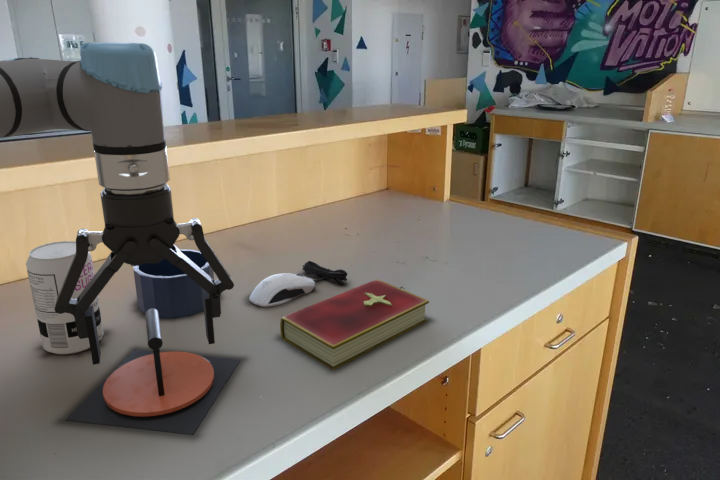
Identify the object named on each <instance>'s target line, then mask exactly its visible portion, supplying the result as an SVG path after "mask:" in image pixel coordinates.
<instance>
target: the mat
mask: <svg viewBox="0 0 720 480" xmlns="http://www.w3.org/2000/svg"><path fill="white" fill-rule="evenodd" d="M150 354H153V350H144V349H133V351H132V352H131V353H130V354H129V355H127V356H126V357H125V359H124V360H123V361H122V362H121V363H120V364H118V366H117V367H116V368H115V369H114V370H113V371H112V372H111V373H110V374H109V375H108V376H107V377H105V379H104V380H103V381H102V382H101V383H100V384H99V385H98V386H97V387H96V388H95V389H94V390H93V391H92V392H91V393H90V394H89V395H88V396H87V397H86V398H85V399H84V401H82V402H81V403H80V404H79V405H78V406H77V407H76V408H75V409H74V410H73V412H71V414H69V416H67V417H66V418H65V422H74V423H84V424H92V425H100V426H101V425H102V426H109V427H117V428H126V429H133V430H135V429H136V430H143V431H153V432H159V433H160V432H161V433H169V434H179V435H187V436H194V435H195V434H196V432H197V430H198V429H199V427H200V425H202V423H203V421H204V419H205V418H206V416H207V415H208V413H209V411H210V410H211V408H212V407H213V405H214V403H215V402H216V400H217V398H218V397H219V396H220V393H221V392H222V390H223V389H224V388H225V386H226V384H227V383H228V381H229V380H230V378H231V376H232V374H233V373H234V372H235V370H236V369H237V367H238V365H239V363H240V362H241V359H239V358H229V357H228V358H227V357H218V356H207V355H200V356H201V357H203V358H205V359H206V360H208V361H209V362H210V364H211V365H212V367H213V370H214V381H213V384H212V386H211V388H210V389H209V390H208V392H207V393H206V394H205V395H204V396H203V397H201V398H200V399H199V400H197V401H196V402H194V403H193V404H191V405H189V406H187V407H185V408H182V409H180V410H177V411H174V412H171V413H167V414H162V415H157V416H144V417H140V416H130V415H125V414H121V413H119V412H116V411H114V410H113V409H111V408H110V407H109V406H108V405H107V404H106V402H105V400H104V397H103V386H104V384H105V382H106V380H107V379H108V377H109V376H110V375H111V374H112V373H113V372H114V371H115V370H117V369H118V368H119V367H121V366H123V365H124V364H126V363H128V362H130V361H132V360H135V359H137V358H140V357H143V356H146V355H150Z"/></svg>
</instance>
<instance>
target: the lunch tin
mask: <svg viewBox="0 0 720 480" xmlns="http://www.w3.org/2000/svg"><path fill="white" fill-rule="evenodd" d="M178 249H179V250H180V251H181V252H182V253H183V254H184V255H185V256H187V257H188V258H189V259H190V260H191V261H192V262H194V263H195V264H196V265H197V266H198V267H199V268H201V269H202V270H203V271H204V272H205V273H206V274H208V275H209V276H210V277H211V278H212V279H214V280H215V273H214V271H213V270H212V268H211V267H210V265H209V264H208V262H207V261H206V259H205V258H204V256H203V255H202V253H201V252H200V250H195V249H187V248H186V249H185V248H183V249H182V248H178ZM132 267H133V277H134V284H135V285H134V286H135V292H136V299H137V308H138V310H139V311H140V313H141V314H143V315H145V314H146V311H147V310H149V309H156V310H157V311H158V312H159V319H164V320H165V319H167V320H168V319H179V318H180V319H181V318H186V317H190V316H193V315H197V314H199V313H201V312H204V304H203V292H202V290H204V289H203V288H202V287H201V286H200V285H198V284H197V283H196V282H195V281H193V280H192V279H191V278H190V277H189V276H187V275H186V274H185V273H184V272H183V271H181V270H180V269H179V268H178V267H177V266H175V265H173V264H171V263H170V262H169V261H168V260H167V259H165V258H164V259H163V260H161V261H159V263H154V264H151V263H143V264H141V265H137V266H132Z"/></svg>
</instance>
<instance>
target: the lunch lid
mask: <svg viewBox="0 0 720 480" xmlns="http://www.w3.org/2000/svg"><path fill="white" fill-rule="evenodd" d="M144 315H145V316H144V317H145V327H146V338H147V347H148V349H150V350H151V351H153V354H150V355H146V356H143V357H140V358H137V359H135V360H132V361H130V362H128V363H126V364H124V365H123V366H121V367H119V368H118V369H117V370H115V369H114V370H115V371H114V370H113V371H114V372H113V371H112V372H113V373H112V372H111V373H112V374H111V373H110V374H111V375H110V374H109V375H110V376H109V375H108V376H109V377H108V376H107V377H108V379H107V380H106V382H105V384H104V386H103V397H104V400H105V402H106V404H107V405H108V406H109V407H110V408H111V409H113V410H114V411H116V412H119V413H121V414H125V415H130V416H140V417H144V416H157V415H162V414H167V413H171V412H174V411H177V410H180V409H182V408H185V407H187V406H189V405H191V404H193V403H194V402H196V401H197V400H199V399H200V398H201V397H203V396H204V395H205V394H206V393H207V392H208V390H209V389H210V388H211V386H212V384H213V381H214V370H213V367H212V365H211V364H210V362H209V361H208V360H206V359H205V358H203V357H201V356H202V355H200V354H196V353H192V352H188V351H179V350H178V351H160V349H161V348H162V346H163V344H164V343H163V335H162V327H161V321H160V319H161V318H159V312H158V311H157V310H156V309H149V310H147V311H146V314H144Z"/></svg>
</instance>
